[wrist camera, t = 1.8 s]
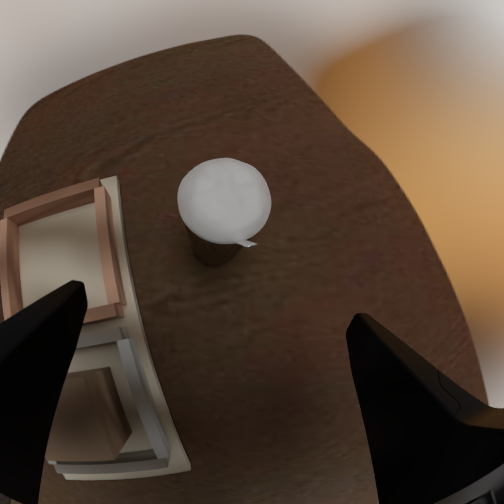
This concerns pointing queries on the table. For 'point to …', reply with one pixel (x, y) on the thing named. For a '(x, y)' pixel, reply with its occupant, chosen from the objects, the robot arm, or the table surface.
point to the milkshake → (223, 208)
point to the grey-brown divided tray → (92, 334)
